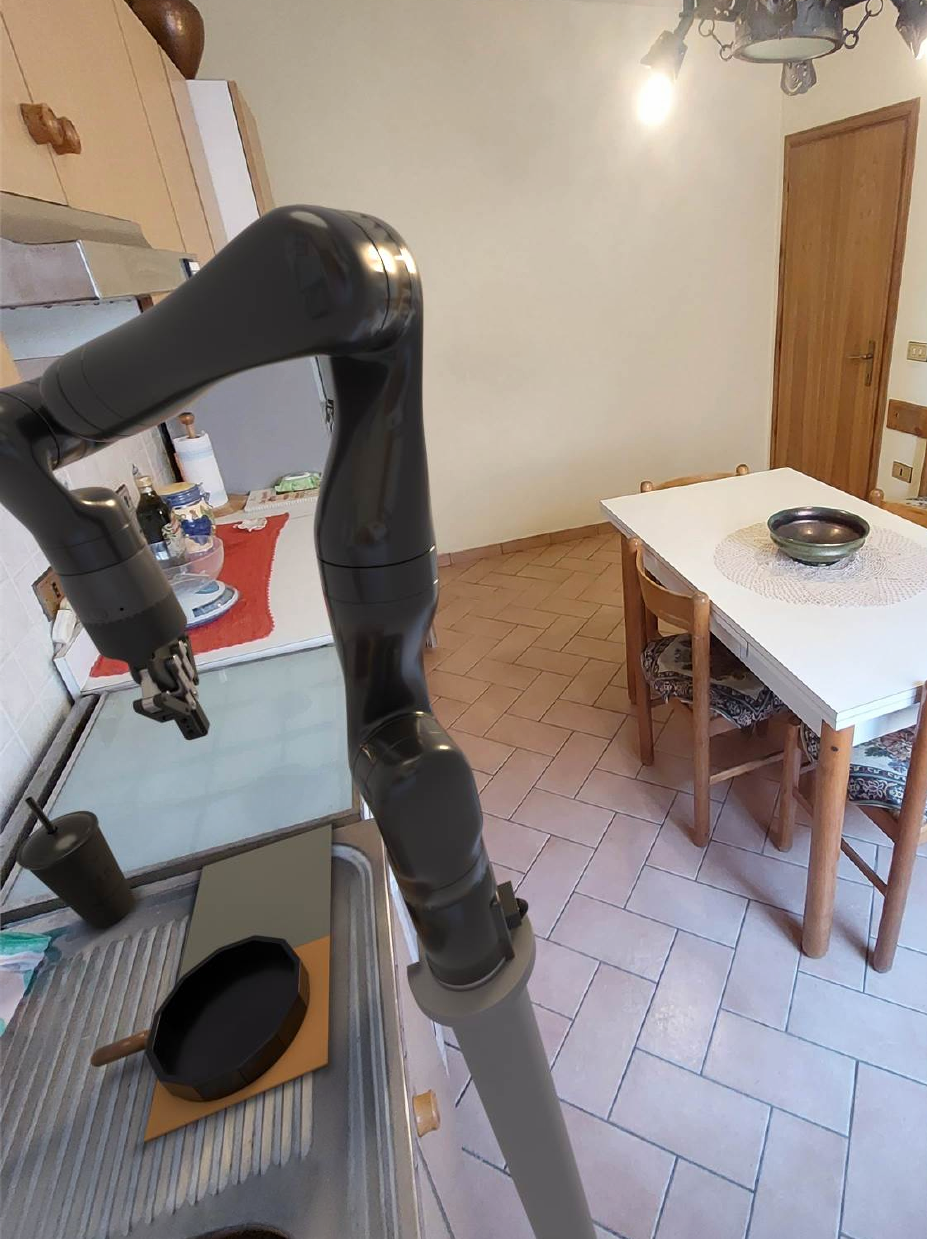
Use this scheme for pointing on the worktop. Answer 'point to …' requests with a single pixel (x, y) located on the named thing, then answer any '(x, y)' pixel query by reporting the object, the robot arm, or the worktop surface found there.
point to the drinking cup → (77, 866)
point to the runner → (274, 907)
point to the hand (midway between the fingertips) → (199, 733)
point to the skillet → (223, 1020)
